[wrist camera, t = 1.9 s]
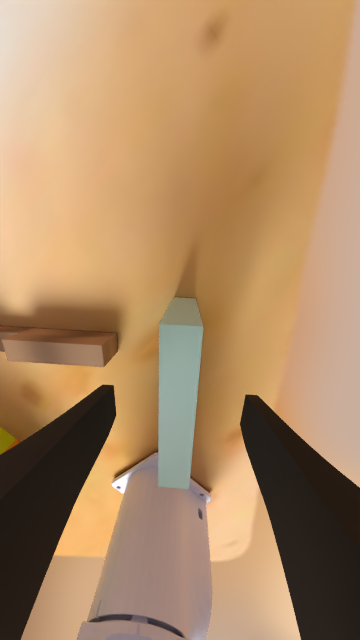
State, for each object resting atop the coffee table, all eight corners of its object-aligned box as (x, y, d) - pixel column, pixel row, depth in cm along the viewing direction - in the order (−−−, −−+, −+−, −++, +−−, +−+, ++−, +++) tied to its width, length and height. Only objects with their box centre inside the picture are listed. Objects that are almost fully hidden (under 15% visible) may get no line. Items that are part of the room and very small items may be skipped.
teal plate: (173, 297, 13) (159, 324, 7) (195, 298, 13) (203, 326, 7) (170, 397, 16) (158, 486, 10) (188, 399, 16) (189, 489, 10)
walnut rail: (116, 332, 15) (101, 345, 12) (117, 351, 15) (103, 367, 13) (-77, 321, 15) (-129, 331, 13) (-69, 339, 16) (-118, 352, 13)
